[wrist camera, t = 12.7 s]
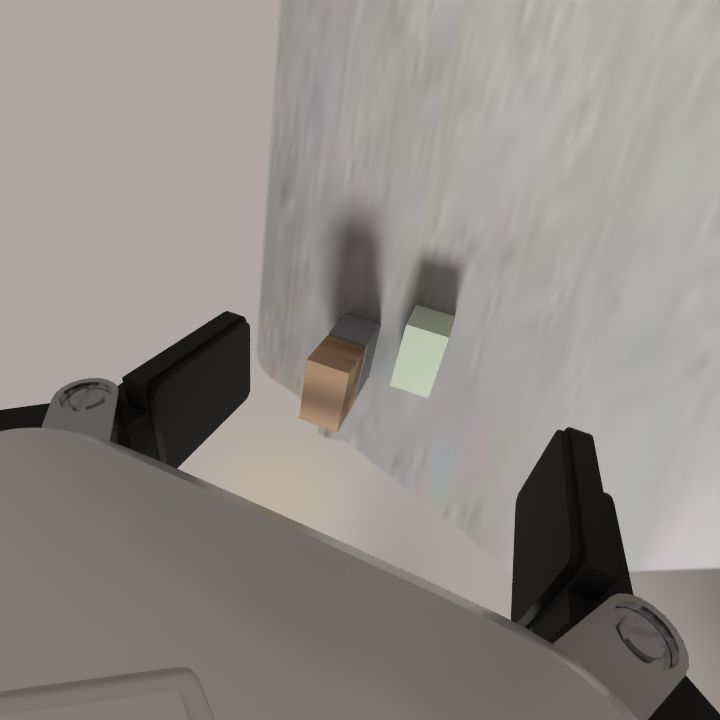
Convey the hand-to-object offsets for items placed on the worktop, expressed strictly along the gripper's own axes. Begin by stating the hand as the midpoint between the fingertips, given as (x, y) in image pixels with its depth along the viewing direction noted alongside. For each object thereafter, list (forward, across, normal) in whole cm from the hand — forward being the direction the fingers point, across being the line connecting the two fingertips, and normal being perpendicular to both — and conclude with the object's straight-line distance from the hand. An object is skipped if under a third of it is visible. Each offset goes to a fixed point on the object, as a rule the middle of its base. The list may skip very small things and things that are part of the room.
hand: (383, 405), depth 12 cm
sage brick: (+28, +1, +13) cm, 31 cm away
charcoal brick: (+28, +8, +16) cm, 33 cm away
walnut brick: (+22, +8, +17) cm, 29 cm away
